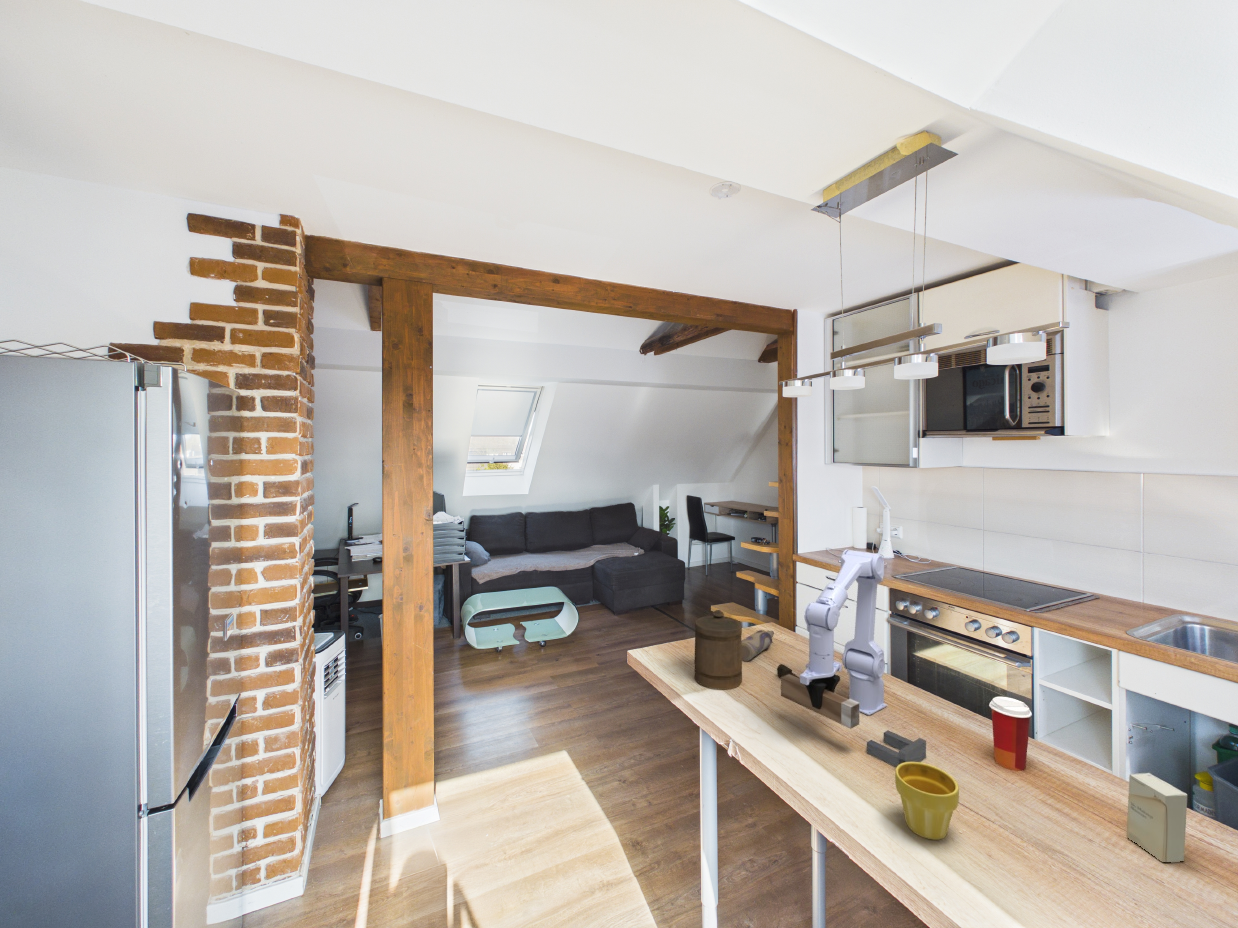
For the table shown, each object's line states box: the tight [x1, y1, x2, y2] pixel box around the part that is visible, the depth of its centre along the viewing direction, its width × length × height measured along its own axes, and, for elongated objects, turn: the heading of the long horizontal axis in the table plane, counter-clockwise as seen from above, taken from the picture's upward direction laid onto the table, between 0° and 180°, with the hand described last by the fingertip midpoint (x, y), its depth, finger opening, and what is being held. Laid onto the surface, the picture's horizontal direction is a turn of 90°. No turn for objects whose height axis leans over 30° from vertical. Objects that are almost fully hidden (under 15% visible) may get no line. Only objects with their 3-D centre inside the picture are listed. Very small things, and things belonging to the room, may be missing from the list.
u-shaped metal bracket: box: [866, 730, 927, 768], centre depth 121 cm, size 10×9×4 cm
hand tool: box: [776, 663, 800, 680], centre depth 156 cm, size 19×4×5 cm, turn 15°
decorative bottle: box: [741, 629, 775, 662], centre depth 186 cm, size 26×8×7 cm, turn 140°
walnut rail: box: [780, 674, 860, 730], centre depth 129 cm, size 4×20×5 cm, turn 34°
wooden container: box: [693, 609, 743, 690], centre depth 162 cm, size 15×15×22 cm
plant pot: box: [894, 761, 960, 841], centre depth 98 cm, size 10×10×10 cm
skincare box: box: [1126, 772, 1188, 863], centre depth 92 cm, size 6×4×12 cm
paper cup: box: [988, 696, 1033, 772], centre depth 117 cm, size 8×8×14 cm
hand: (821, 705), depth 128 cm, fingers closed on walnut rail, 3 cm apart
